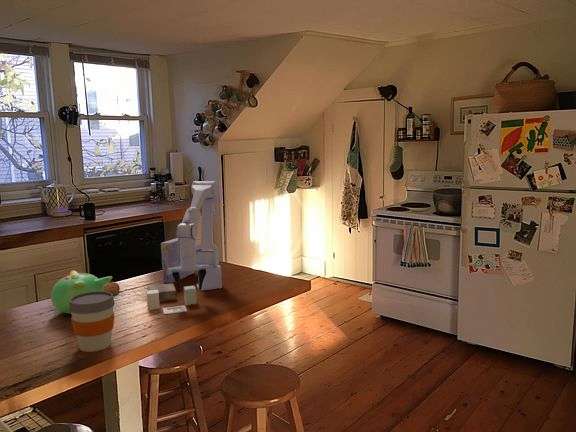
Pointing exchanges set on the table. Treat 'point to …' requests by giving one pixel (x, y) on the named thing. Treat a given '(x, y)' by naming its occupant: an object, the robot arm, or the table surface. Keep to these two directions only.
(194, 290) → the sage block
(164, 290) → the taupe square block
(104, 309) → the reusable coffee cup
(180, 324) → the table surface
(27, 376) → the table surface
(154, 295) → the cream block
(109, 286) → the pastry
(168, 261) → the cake pan box
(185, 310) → the card
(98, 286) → the green rounded plush
